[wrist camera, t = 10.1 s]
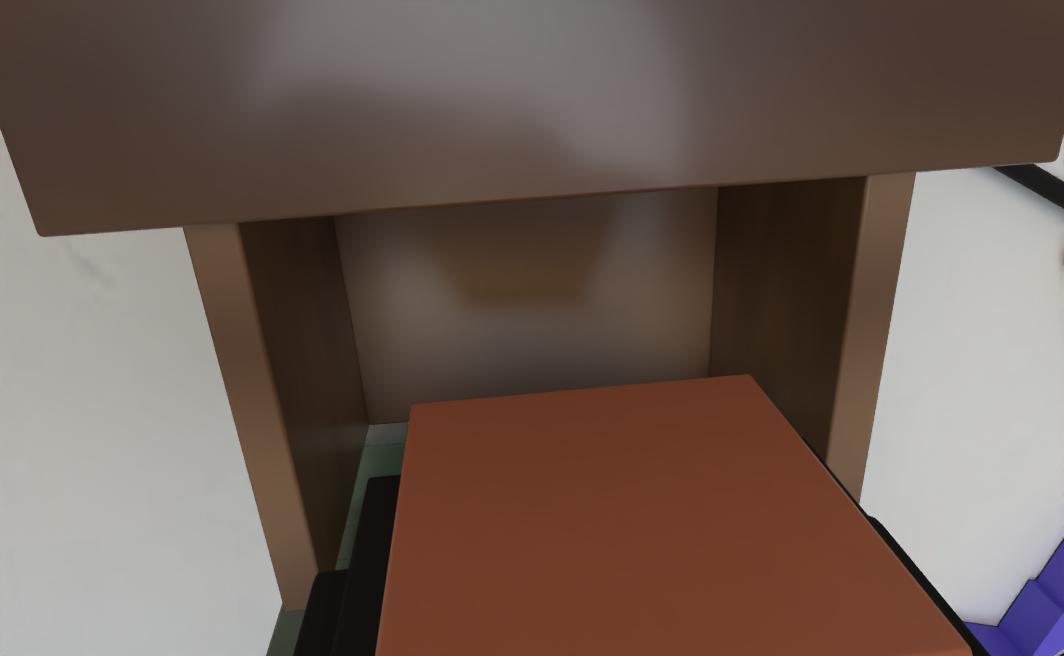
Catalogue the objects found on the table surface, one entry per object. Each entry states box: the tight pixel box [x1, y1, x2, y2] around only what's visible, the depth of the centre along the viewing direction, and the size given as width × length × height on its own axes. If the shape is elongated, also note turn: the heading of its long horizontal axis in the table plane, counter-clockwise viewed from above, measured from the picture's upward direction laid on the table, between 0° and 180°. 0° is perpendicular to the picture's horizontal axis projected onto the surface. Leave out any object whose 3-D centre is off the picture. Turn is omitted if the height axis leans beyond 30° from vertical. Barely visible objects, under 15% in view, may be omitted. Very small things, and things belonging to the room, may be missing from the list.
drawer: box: [183, 172, 916, 656], centre depth 16 cm, size 18×12×8 cm
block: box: [375, 374, 973, 656], centre depth 9 cm, size 5×5×5 cm
